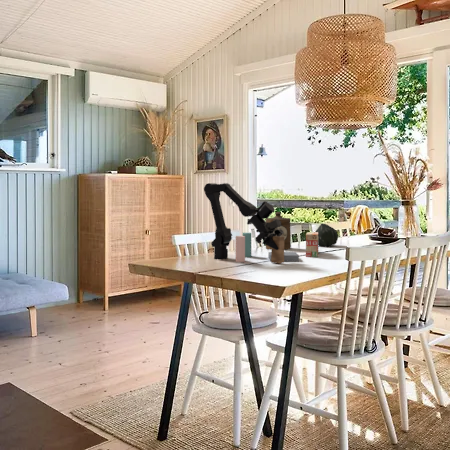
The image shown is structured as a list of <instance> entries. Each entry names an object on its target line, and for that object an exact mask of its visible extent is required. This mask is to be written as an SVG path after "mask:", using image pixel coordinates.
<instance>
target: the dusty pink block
mask: <svg viewBox="0 0 450 450" xmlns="http://www.w3.org/2000/svg"><path fill="white" fill-rule="evenodd" d="M235 262H236V263H246V257H245V236H243V235H235Z"/></svg>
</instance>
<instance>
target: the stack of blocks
mask: <svg viewBox="0 0 450 450" xmlns="http://www.w3.org/2000/svg"><path fill="white" fill-rule="evenodd" d="M305 257H306V258H318V257H319V246H318V232H316V231H315V232H313V231H310V232H309V231H308V232H306V233H305Z"/></svg>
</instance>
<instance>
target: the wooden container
mask: <svg viewBox="0 0 450 450" xmlns="http://www.w3.org/2000/svg"><path fill="white" fill-rule="evenodd" d="M274 214H275V215H274V216H273V217H268V218H267V219H265V222H266V223H270V222H272V221H274V220H276V219H278V220H280V221H281V226H280V227H277V228H275V230H278V229H281V230H282V231H283V232H284V233H283V234H282V235H281V236H283V237H284V251H285V250H286V251H287V250H290V249H291V239H292V237H291V235H292V233H291V218H290V217H289V218H288V217H283V216H282V213H281V212H280V211H276V212H275V213H274ZM273 232H274V231H273ZM265 248H266V249H267V250H272V247H269V246H267V245H265Z"/></svg>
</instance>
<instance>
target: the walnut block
mask: <svg viewBox="0 0 450 450" xmlns="http://www.w3.org/2000/svg"><path fill="white" fill-rule="evenodd" d="M273 240H274V242H275V243H276V245H277V246H278V248H279V249H278V250H276V249H274V248H272V250H271V249H270V250H271V251H270V252H271V261H270V262H271V263H272V264H282V263H285V261H284V252H285V250H284V237H283V236H274V237H273Z"/></svg>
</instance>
